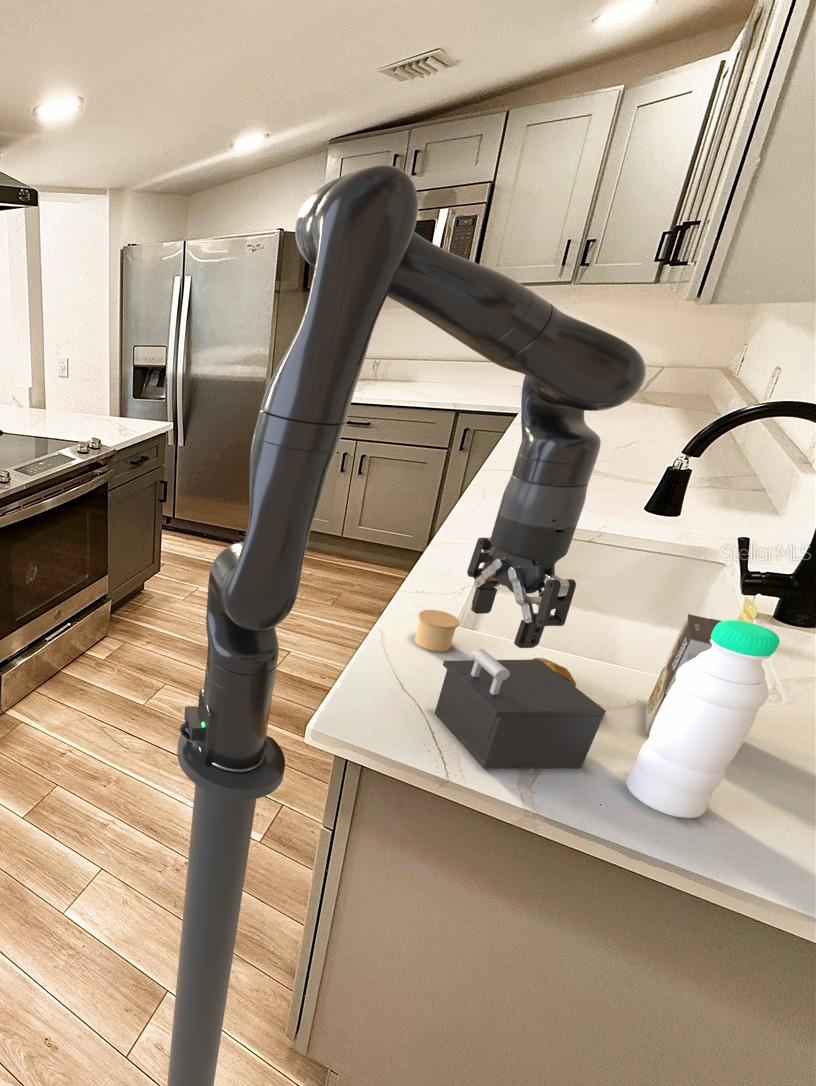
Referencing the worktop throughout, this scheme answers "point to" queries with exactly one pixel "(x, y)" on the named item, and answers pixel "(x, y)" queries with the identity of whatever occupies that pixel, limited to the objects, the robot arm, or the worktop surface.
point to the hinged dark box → (514, 733)
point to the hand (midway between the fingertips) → (501, 628)
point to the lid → (520, 687)
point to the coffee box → (680, 660)
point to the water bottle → (703, 721)
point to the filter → (436, 630)
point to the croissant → (559, 670)
